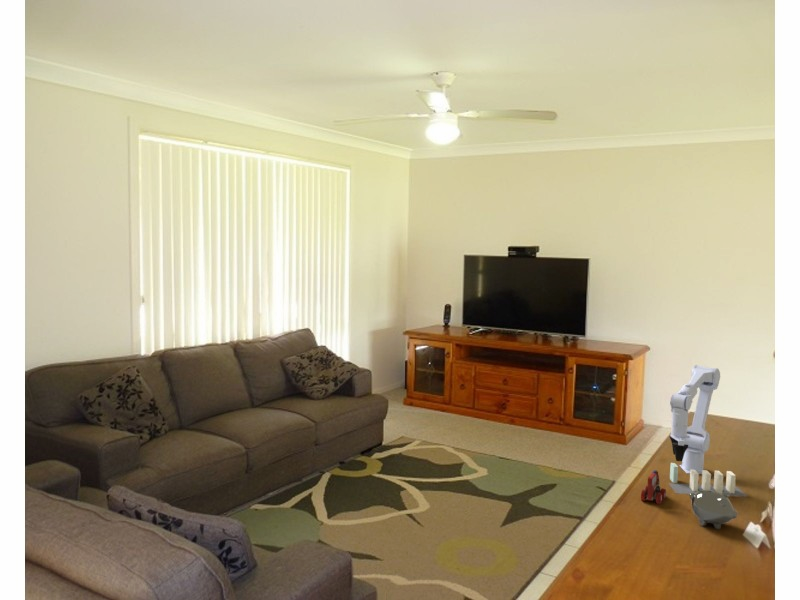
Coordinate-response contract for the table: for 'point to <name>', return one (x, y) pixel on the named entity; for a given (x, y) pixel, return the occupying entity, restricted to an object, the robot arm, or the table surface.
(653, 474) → the toy fire truck
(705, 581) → the table surface
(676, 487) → the runner mat
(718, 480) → the tile
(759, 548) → the table surface
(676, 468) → the pale green tile
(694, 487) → the tile
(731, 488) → the tile
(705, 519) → the piggy bank
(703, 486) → the tile
